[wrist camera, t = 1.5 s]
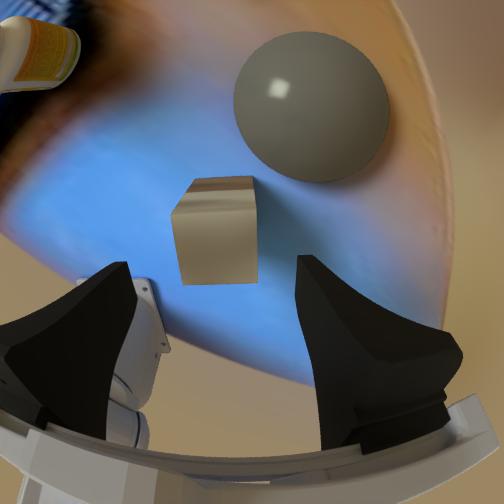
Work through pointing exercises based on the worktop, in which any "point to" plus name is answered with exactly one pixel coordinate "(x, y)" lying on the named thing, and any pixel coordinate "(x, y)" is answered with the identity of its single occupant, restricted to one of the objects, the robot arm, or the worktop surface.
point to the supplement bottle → (35, 54)
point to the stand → (311, 106)
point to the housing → (217, 232)
